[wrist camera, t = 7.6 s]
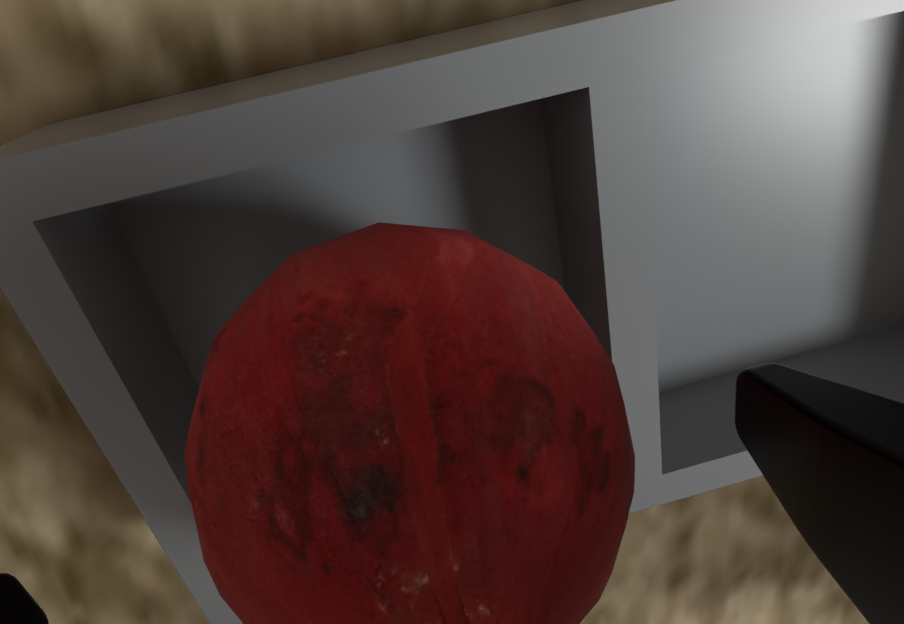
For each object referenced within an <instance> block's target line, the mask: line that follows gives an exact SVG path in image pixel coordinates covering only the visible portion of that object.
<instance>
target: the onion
mask: <svg viewBox="0 0 904 624" xmlns="http://www.w3.org/2000/svg"><path fill="white" fill-rule="evenodd" d="M184 459H185V466H186V473H187V480H188V487H189V494H190V499H191V504H192V509H193V513H194V518H195V523H196V527H197V532H198V537H199V541H200V546H201V551H202V555H203V560H204V563H205V565H206V567H207V569H208V571H209V573H210V575H211V578H212V580H213V582H214V584H215V586H216V588H217V590H218V592H219V595H220V596H221V597H222V599H223V600H224V601H225V602H226V603H227V605H228V606H229V607H230V608H231V609H232V611H233V612H234V613H235V614H236V615H237V617H238V618H239V619H240V620H241V622H242V623H243V624H579V623H580V622H581V621H582V620H583V619H584V617H585V616H586V615H587V614H588V613H589V611H590V610H591V609H592V608H593V607H594V605H595V604H596V603H597V602H598V601H599V599H600V597H601V595H602V593H603V590H604V588H605V586H606V584H607V582H608V580H609V578H610V576H611V574H612V570H613V567H614V564H615V560H616V557H617V553H618V550H619V547H620V543H621V540H622V537H623V533H624V530H625V526H626V523H627V519H628V515H629V511H630V507H631V503H632V499H633V495H634V484H635V453H634V448H633V444H632V439H631V434H630V429H629V424H628V419H627V414H626V409H625V405H624V400H623V397H622V393H621V389H620V385H619V381H618V377H617V374H616V370H615V366H614V364H613V363H612V361H611V359H610V358H609V356H608V354H607V353H606V351H605V349H604V348H603V346H602V344H601V343H600V341H599V339H598V338H597V336H596V334H595V333H594V332H593V330H592V329H591V327H590V326H589V325H588V323H587V322H586V320H585V319H584V318H583V316H582V315H581V314H580V312H579V311H578V309H577V308H576V307H575V305H574V304H573V303H572V301H571V300H570V298H569V297H568V296H567V294H566V293H565V291H564V290H563V289H562V287H561V286H560V285H559V283H558V282H557V281H556V280H554V279H553V278H551V277H549V276H548V275H546V274H544V273H543V272H541V271H540V270H538V269H536V268H535V267H533V266H531V265H530V264H528V263H526V262H524V261H522V260H520V259H518V258H517V257H515V256H513V255H511V254H509V253H507V252H505V251H503V250H502V249H500V248H498V247H496V246H494V245H492V244H490V243H488V242H486V241H485V240H483V239H481V238H479V237H477V236H475V235H473V234H471V233H470V232H468V231H466V230H458V229H447V228H436V227H425V226H414V225H403V224H392V223H381V222H378V223H376V224H373V225H370V226H367V227H365V228H362V229H359V230H356V231H353V232H351V233H348V234H345V235H342V236H340V237H337V238H334V239H331V240H328V241H326V242H323V243H320V244H317V245H314V246H312V247H309V248H306V249H303V250H301V251H298V252H295V253H292V254H291V255H290V256H289V257H288V258H287V259H286V260H285V262H284V263H283V264H282V265H281V266H280V267H279V268H278V269H277V270H276V271H275V272H274V273H273V274H272V275H271V276H270V277H269V278H268V279H267V280H266V281H265V282H264V283H263V284H262V285H261V286H260V287H259V288H258V289H257V290H256V291H255V292H254V293H253V294H252V295H251V296H250V297H249V298H248V299H247V300H246V301H245V302H244V303H243V305H242V306H241V307H240V308H239V309H238V310H237V311H236V312H235V313H234V314H233V315H232V317H231V318H230V319H229V320H228V322H227V323H226V324H225V325H224V327H223V328H222V329H221V330H220V332H219V333H218V334H217V335H216V337H215V338H214V339H213V342H212V346H211V349H210V353H209V356H208V360H207V363H206V367H205V370H204V374H203V378H202V381H201V385H200V388H199V392H198V395H197V399H196V403H195V406H194V410H193V413H192V418H191V423H190V427H189V432H188V437H187V442H186V446H185V451H184Z"/></svg>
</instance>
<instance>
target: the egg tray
mask: <svg viewBox="0 0 904 624" xmlns="http://www.w3.org/2000/svg"><path fill="white" fill-rule="evenodd" d="M378 222H381V223H392V224H403V225H414V226H425V227H436V228H447V229H458V230H466V231H468V232H470V233H471V234H473V235H475V236H477V237H479V238H481V239H483V240H485V241H486V242H488V243H490V244H492V245H494V246H496V247H498V248H500V249H502V250H503V251H505V252H507V253H509V254H511V255H513V256H515V257H517V258H518V259H520V260H522V261H524V262H526V263H528V264H530V265H531V266H533V267H535V268H536V269H538V270H540V271H541V272H543V273H544V274H546V275H548V276H549V277H551V278H553V279H554V280H556V281H557V282H558V283H559V285H560V286H561V287H562V289H563V290H564V291H565V293H566V294H567V296H568V297H569V298H570V300H571V301H572V303H573V304H574V305H575V307H576V308H577V309H578V311H579V312H580V314H581V315H582V316H583V318H584V319H585V320H586V322H587V323H588V325H589V326H590V327H591V329H592V330H593V332H594V333H595V334H596V336H597V338H598V339H599V341H600V343H601V344H602V346H603V348H604V349H605V351H606V353H607V354H608V356H609V358H610V359H611V361H612V363H613V364H614V366H615V370H616V374H617V377H618V381H619V385H620V389H621V393H622V397H623V400H624V405H625V409H626V414H627V419H628V424H629V429H630V434H631V439H632V444H633V448H634V453H635V484H634V495H633V499H632V503H631V507H630V511H629V514H631V513H634V512H638V511H641V510H645V509H648V508H652V507H655V506H659V505H662V504H665V503H669V502H672V501H676V500H679V499H683V498H686V497H690V496H693V495H697V494H700V493H704V492H707V491H711V490H714V489H718V488H721V487H725V486H728V485H732V484H735V483H739V482H742V481H745V480H749V479H752V478H756V477H759V476H763V474H762V473H761V471H760V470H759V468H758V467H757V465H756V463H755V462H754V460H753V459H752V457H751V456H750V454H749V452H748V451H747V449H746V448H745V446H744V445H743V443H742V441H741V440H740V438H739V436H738V433H737V431H736V427H735V419H734V418H735V389H736V377H737V375H738V373H739V372H740V371H741V370H743V369H745V368H748V367H752V366H756V365H759V364H763V363H768V362H773V363H777V364H781V365H784V366H787V367H790V368H793V369H796V370H799V371H803V372H806V373H809V374H812V375H815V376H818V377H822V378H825V379H828V380H831V381H834V382H837V383H841V384H844V385H847V386H850V387H853V388H856V389H860V390H863V391H866V392H869V393H872V394H875V395H879V396H882V397H885V398H888V399H891V400H894V401H897V402H901V403H904V0H580V1H576V2H572V3H567V4H563V5H559V6H554V7H550V8H546V9H542V10H537V11H533V12H529V13H524V14H520V15H516V16H511V17H507V18H503V19H499V20H494V21H490V22H486V23H481V24H477V25H473V26H468V27H464V28H460V29H456V30H451V31H447V32H443V33H438V34H434V35H430V36H425V37H421V38H417V39H413V40H408V41H404V42H400V43H395V44H391V45H387V46H382V47H378V48H374V49H370V50H365V51H361V52H357V53H352V54H348V55H344V56H339V57H335V58H331V59H327V60H322V61H318V62H314V63H309V64H305V65H301V66H297V67H292V68H288V69H284V70H279V71H275V72H271V73H266V74H262V75H258V76H254V77H249V78H245V79H241V80H236V81H232V82H228V83H223V84H219V85H215V86H211V87H206V88H202V89H198V90H193V91H189V92H185V93H180V94H176V95H172V96H168V97H163V98H159V99H155V100H150V101H146V102H142V103H137V104H133V105H129V106H125V107H120V108H116V109H112V110H107V111H103V112H99V113H94V114H90V115H86V116H82V117H77V118H73V119H69V120H64V121H60V122H56V123H51V124H48V125H46V126H44V127H41V128H39V129H37V130H34V131H32V132H30V133H27V134H25V135H23V136H20V137H18V138H16V139H13V140H11V141H9V142H7V143H4V144H2V145H0V289H1V290H2V292H3V294H4V295H5V297H6V298H7V300H8V302H9V303H10V305H11V306H12V308H13V310H14V311H15V313H16V314H17V316H18V318H19V319H20V321H21V322H22V324H23V326H24V327H25V329H26V330H27V332H28V334H29V335H30V337H31V338H32V340H33V342H34V343H35V345H36V346H37V348H38V350H39V351H40V353H41V354H42V356H43V358H44V359H45V361H46V362H47V364H48V366H49V367H50V369H51V370H52V372H53V374H54V375H55V377H56V378H57V380H58V382H59V383H60V385H61V386H62V388H63V390H64V391H65V393H66V394H67V396H68V398H69V399H70V401H71V402H72V404H73V406H74V407H75V409H76V410H77V412H78V414H79V415H80V417H81V418H82V420H83V422H84V423H85V425H86V426H87V428H88V430H89V431H90V433H91V434H92V436H93V438H94V439H95V441H96V442H97V444H98V446H99V447H100V449H101V450H102V452H103V454H104V455H105V457H106V458H107V460H108V462H109V463H110V465H111V466H112V468H113V470H114V471H115V473H116V474H117V476H118V478H119V479H120V481H121V482H122V484H123V486H124V487H125V489H126V490H127V492H128V494H129V495H130V497H131V498H132V500H133V502H134V503H135V505H136V506H137V508H138V510H139V511H140V513H141V514H142V516H143V518H144V519H145V521H146V522H147V524H148V526H149V527H150V529H151V530H152V532H153V534H154V535H155V537H156V538H157V540H158V542H159V543H160V545H161V546H162V548H163V550H164V551H165V553H166V554H167V556H168V558H169V559H170V561H171V562H172V564H173V566H174V567H175V569H176V570H177V572H178V574H179V575H180V577H181V578H182V580H183V582H184V583H185V585H186V586H187V588H188V590H189V591H190V593H191V594H192V596H193V598H194V599H195V601H196V602H197V604H198V606H199V607H200V609H201V610H202V612H203V614H204V615H205V617H206V618H207V620H208V622H209V623H210V624H243V623H242V622H241V620H240V619H239V618H238V617H237V615H236V614H235V613H234V612H233V611H232V609H231V608H230V607H229V606H228V605H227V603H226V602H225V601H224V600H223V599H222V597H221V596H220V595H219V592H218V590H217V588H216V586H215V584H214V582H213V580H212V578H211V575H210V573H209V571H208V569H207V567H206V565H205V563H204V560H203V555H202V551H201V546H200V541H199V537H198V532H197V527H196V523H195V518H194V513H193V509H192V504H191V499H190V494H189V487H188V480H187V473H186V466H185V459H184V451H185V446H186V442H187V437H188V432H189V427H190V423H191V418H192V413H193V410H194V406H195V403H196V399H197V395H198V392H199V388H200V385H201V381H202V378H203V374H204V370H205V367H206V363H207V360H208V356H209V353H210V349H211V346H212V342H213V339H214V338H215V337H216V335H217V334H218V333H219V332H220V330H221V329H222V328H223V327H224V325H225V324H226V323H227V322H228V320H229V319H230V318H231V317H232V315H233V314H234V313H235V312H236V311H237V310H238V309H239V308H240V307H241V306H242V305H243V303H244V302H245V301H246V300H247V299H248V298H249V297H250V296H251V295H252V294H253V293H254V292H255V291H256V290H257V289H258V288H259V287H260V286H261V285H262V284H263V283H264V282H265V281H266V280H267V279H268V278H269V277H270V276H271V275H272V274H273V273H274V272H275V271H276V270H277V269H278V268H279V267H280V266H281V265H282V264H283V263H284V262H285V260H286V259H287V258H288V257H289V256H290V255H291V254H292V253H295V252H298V251H301V250H303V249H306V248H309V247H312V246H314V245H317V244H320V243H323V242H326V241H328V240H331V239H334V238H337V237H340V236H342V235H345V234H348V233H351V232H353V231H356V230H359V229H362V228H365V227H367V226H370V225H373V224H376V223H378Z"/></svg>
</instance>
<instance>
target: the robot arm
mask: <svg viewBox="0 0 904 624" xmlns="http://www.w3.org/2000/svg"><path fill="white" fill-rule="evenodd" d="M734 419H735V427H736V431H737V433H738V436H739V438H740V440H741V441H742V443H743V445H744V446H745V448H746V449H747V451H748V452H749V454H750V456H751V457H752V459H753V460H754V462H755V463H756V465H757V467H758V468H759V470H760V471H761V473H762V474H763V476H764V478H765V479H766V481H767V482H768V484H769V485H770V487H771V489H772V490H773V492H774V493H775V495H776V496H777V498H778V500H779V501H780V503H781V504H782V506H783V507H784V509H785V511H786V512H787V514H788V515H789V517H790V518H791V520H792V522H793V523H794V525H795V526H796V528H797V529H798V531H799V532H800V534H801V535H802V537H803V538H804V540H805V541H806V543H807V544H808V545H809V547H810V548H811V549H812V551H813V552H814V553H815V555H816V556H817V557H818V559H819V560H820V561H821V563H822V564H823V565H824V566H825V568H826V569H827V570H828V572H829V573H830V574H831V575H832V577H833V578H834V579H835V580H836V582H837V583H838V584H839V585H840V587H841V588H842V589H843V591H844V592H845V593H846V594H847V596H848V597H849V598H850V599H851V601H852V602H853V603H854V604H855V606H856V607H857V608H858V610H859V611H860V612H861V613H862V615H863V616H864V617H865V618H866V620H867V621H868V622H869V624H904V403H901V402H897V401H894V400H891V399H888V398H885V397H882V396H879V395H875V394H872V393H869V392H866V391H863V390H860V389H856V388H853V387H850V386H847V385H844V384H841V383H837V382H834V381H831V380H828V379H825V378H822V377H818V376H815V375H812V374H809V373H806V372H803V371H799V370H796V369H793V368H790V367H787V366H784V365H781V364H777V363H773V362H768V363H763V364H759V365H756V366H752V367H748V368H745V369H743V370H741V371H740V372H739V373H738V375H737V377H736V389H735V418H734ZM0 624H49V623H48V619H47V616H46V614H45V613H44V611H43V610H42V609H41V608H40V606H39V605H38V604H37V603H36V602H35V600H34V599H33V598H32V597H31V595H30V594H29V593H28V592H27V591H26V589H25V588H24V587H23V586H22V585H21V583H20V582H19V581H18V580H17V579H16V578H15V577H14V576H12V575H9V574H7V573H4V574H3V573H1V574H0Z"/></svg>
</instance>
